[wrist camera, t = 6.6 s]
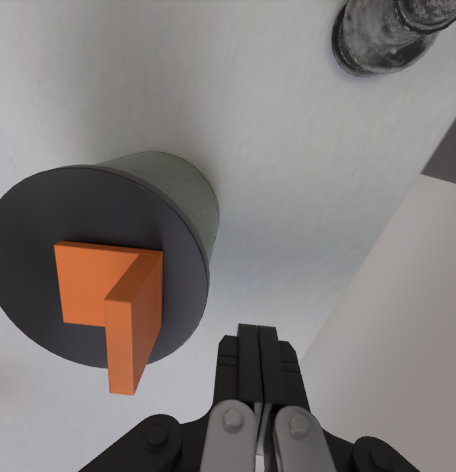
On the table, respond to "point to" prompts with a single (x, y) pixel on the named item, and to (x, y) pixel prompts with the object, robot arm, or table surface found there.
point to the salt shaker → (387, 33)
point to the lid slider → (114, 302)
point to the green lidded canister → (111, 234)
